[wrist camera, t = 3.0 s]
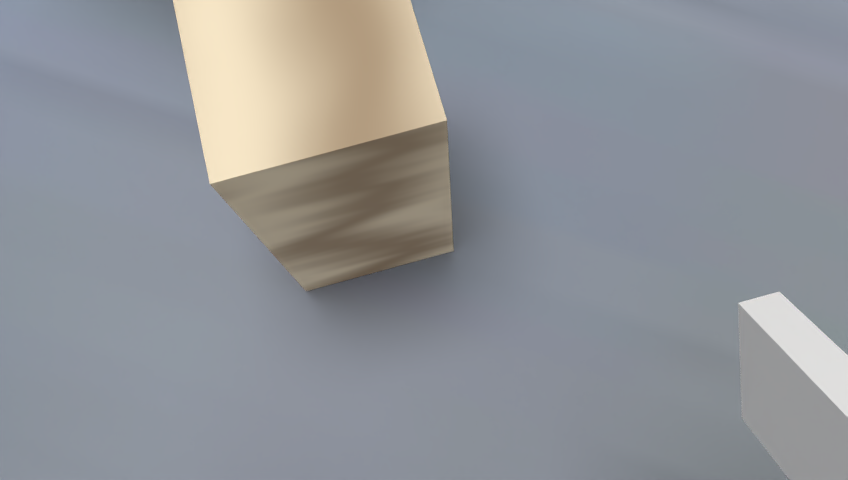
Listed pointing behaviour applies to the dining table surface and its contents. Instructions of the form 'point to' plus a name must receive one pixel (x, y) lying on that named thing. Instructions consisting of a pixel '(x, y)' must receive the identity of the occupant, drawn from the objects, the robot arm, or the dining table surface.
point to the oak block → (322, 130)
